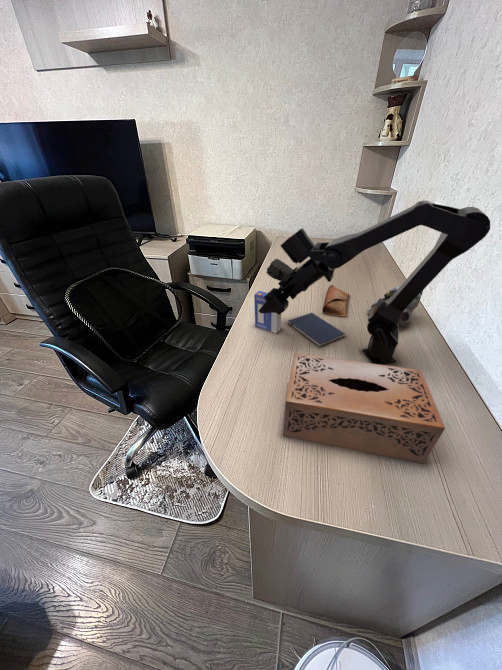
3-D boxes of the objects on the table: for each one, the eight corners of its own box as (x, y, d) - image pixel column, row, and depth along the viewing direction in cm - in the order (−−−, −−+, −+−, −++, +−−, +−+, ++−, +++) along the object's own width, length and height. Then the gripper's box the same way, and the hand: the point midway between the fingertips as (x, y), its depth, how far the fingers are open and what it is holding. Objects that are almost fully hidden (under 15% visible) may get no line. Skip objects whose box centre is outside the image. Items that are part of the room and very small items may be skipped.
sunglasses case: (348, 316, 93) (340, 299, 90) (327, 322, 96) (320, 306, 94) (349, 294, 107) (343, 278, 105) (332, 300, 110) (325, 285, 108)
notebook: (344, 337, 84) (345, 333, 83) (319, 347, 80) (319, 343, 79) (311, 315, 95) (312, 312, 94) (287, 323, 90) (288, 320, 90)
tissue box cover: (406, 404, 62) (421, 370, 56) (423, 463, 50) (445, 428, 45) (291, 385, 67) (294, 352, 61) (282, 435, 55) (285, 401, 50)
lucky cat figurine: (361, 308, 98) (383, 272, 94) (391, 322, 99) (414, 287, 95) (378, 319, 84) (405, 276, 80) (412, 335, 85) (440, 294, 81)
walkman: (255, 326, 89) (254, 293, 82) (259, 322, 91) (258, 289, 84) (276, 333, 85) (277, 299, 78) (280, 329, 87) (282, 295, 80)
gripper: (297, 242, 79) (261, 273, 89) (272, 263, 65) (233, 297, 75) (321, 273, 80) (283, 300, 90) (302, 299, 66) (259, 328, 77)
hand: (265, 305), depth 83 cm, fingers open, 9 cm apart
